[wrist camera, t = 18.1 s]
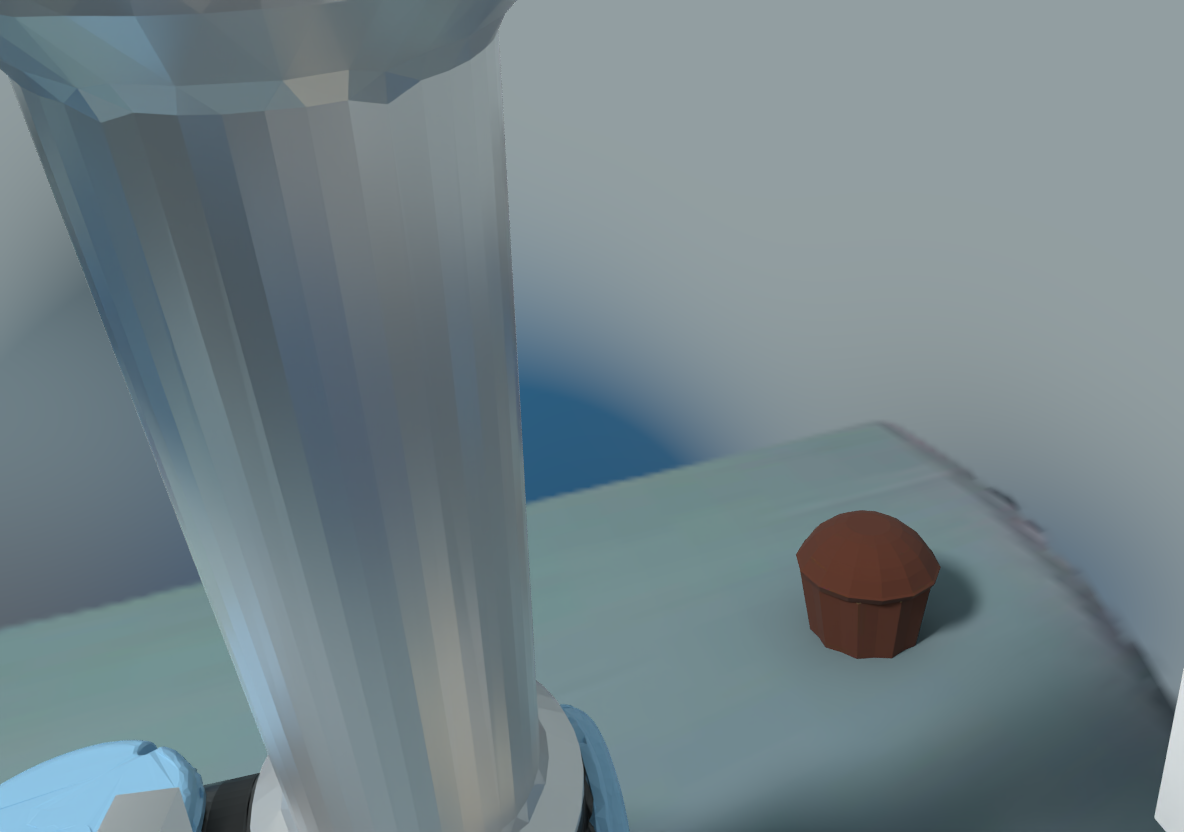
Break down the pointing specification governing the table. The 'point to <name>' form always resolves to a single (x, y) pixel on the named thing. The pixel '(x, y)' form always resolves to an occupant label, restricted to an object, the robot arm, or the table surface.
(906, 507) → the table surface
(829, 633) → the muffin
